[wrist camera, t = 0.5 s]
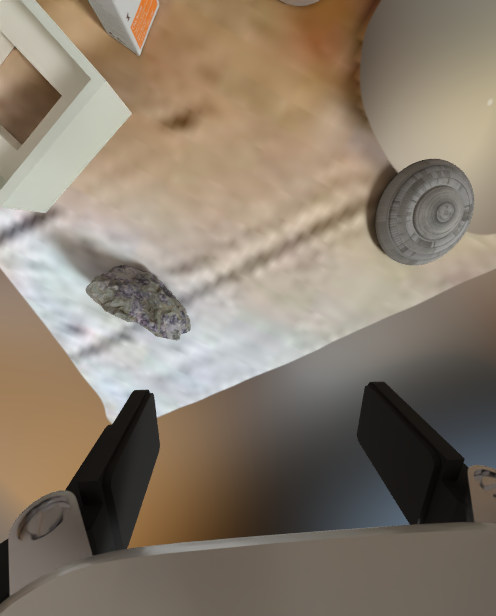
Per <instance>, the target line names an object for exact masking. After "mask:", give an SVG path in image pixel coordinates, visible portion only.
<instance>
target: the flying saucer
mask: <svg viewBox="0 0 496 616" xmlns="http://www.w3.org/2000/svg"><path fill="white" fill-rule="evenodd" d="M473 209H474V194H473V190H472V186H471V184H470V182H469V180H468V178H467V177H466V175H465V174H464V172H463V171H462V170H460V169H459V168H458V167H457V166H456V165H454V164H452V163H450V162H448V161H444V160H440V159H427V160H422V161H419V162H416V163H413V164H411V165H409V166H408V167H406V168H405V169H403V170H402V171H401V172H399V173H398V174H397V175H396V176H395V177H394V178H393V179H392V180H391V182H390V183H389V184H388V186H387V187H386V189H385V190H384V192H383V194H382V196H381V198H380V201H379V204H378V207H377V211H376V218H375V228H376V234H377V238H378V241H379V243H380V245H381V247H382V249H383V250H384V252H385V253H386V254H387V255H388V256H389V257H391V258H392V259H393V260H395V261H397V262H399V263H402V264H406V265H422V264H426V263H429V262H432V261H434V260H436V259H438V258H440V257H441V256H443V255H444V254H446V253H447V252H448V251H450V250H451V249H452V248H453V247H454V246H455V245H456V244H457V243H458V242H459V240H460V239H461V238H462V236H463V235H464V233H465V232H466V230H467V228H468V226H469V224H470V221H471V218H472V214H473Z"/></svg>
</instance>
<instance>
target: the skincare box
mask: <svg viewBox="0 0 496 616" xmlns="http://www.w3.org/2000/svg"><path fill="white" fill-rule="evenodd" d="M88 1H89V3H90V5H91V7H92V8H93V10H94V12H95V13H96V15H97V17H98V18H99V20H100V22H101V24H102V25H103V27H104V29H105V30H106V32H107V33H108V34H109V35H110V36H112V37H113V38H115V39H116V40H117V41H119V42H120V43H122V44H123V45H124V46H126V47H127V48H129V49H130V50H131V51H133V52H134V53H136V54H137V55H138V56H140V54H141V51H142V48H143V45H144V43H145V40H146V38H147V35H148V32H149V30H150V27H151V25H152V22H153V20H154V18H155V15H156V13H157V10H158V8H159V1H158V0H88Z"/></svg>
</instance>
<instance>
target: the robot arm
mask: <svg viewBox="0 0 496 616" xmlns="http://www.w3.org/2000/svg"><path fill="white" fill-rule="evenodd" d="M280 1H282V2H284V3H286V4H290V5H294V6H306V5H309V4H313V3H316V2H318V1H319V0H280ZM357 437H358V441H359V443H360V445H361V446H362V448H363V450H364V451H365V453H366V454H367V456H368V458H369V459H370V461H371V462H372V464H373V466H374V467H375V469H376V471H377V472H378V474H379V475H380V477H381V479H382V480H383V482H384V483H385V485H386V487H387V488H388V490H389V491H390V493H391V495H392V496H393V498H394V499H395V501H396V503H397V504H398V506H399V508H400V509H401V511H402V512H403V514H404V516H405V517H406V519H407V520H408V522H409V523H410V525H402V526H387V527H373V528H360V529H346V530H332V531H320V532H306V533H293V534H281V535H268V536H256V537H245V538H233V539H221V540H209V541H197V542H185V543H176V544H167V545H157V546H147V547H138V548H130V549H127V547H128V545H129V542H130V539H131V536H132V533H133V530H134V527H135V523H136V521H137V518H138V514H139V511H140V508H141V505H142V502H143V499H144V496H145V493H146V490H147V487H148V484H149V481H150V478H151V475H152V471H153V468H154V465H155V462H156V459H157V456H158V453H159V448H160V442H159V433H158V425H157V416H156V408H155V400H154V394H153V393H150V392H149V390H134V391H133V392H132V394H131V395H130V397H129V399H128V400H127V402H126V403H125V405H124V407H123V408H122V410H121V411H120V413H119V415H118V416H117V418H116V420H115V421H114V423H113V424H112V425H108V426H107V427H106V428H105V429H104V431H103V433H102V434H101V435H100V437H99V439H98V440H97V442H96V443H95V445H94V447H93V448H92V450H91V451H90V453H89V454H88V456H87V457H86V459H85V461H84V462H83V463H82V465H81V466H80V468H79V470H78V471H77V473H76V474H75V476H74V477H73V479H72V480H71V482H70V484H69V485H68V487H67V488H66V490H65V491H61V490H60V491H56V492H52V493H50V494H47V495H45V496H43V497H41V498H40V499H38V500H37V501H35V502H33V503H32V504H31V505H30V506H29V507H28V508H26V509H25V510H24V511H23V512H22V513H21V514H20V515H19V517H18V518H17V519H16V520H15V522H14V524H13V526H12V527H11V529H10V533H9V538H8V539H7V540H5V541H4V542H2V543H1V544H0V616H496V470H495V469H493V468H490V467H486V466H481V465H474V466H471V467H469V468H468V467H467V466H466V465H465V464H464V463H463V462H464V458H463V457H462V456H461V455H460V454H459V453H458V452H457V451H456V450H455V449H454V448H453V447H452V446H451V445H450V444H449V443H447V441H446V440H444V439H443V438H442V437H441V436H440V435H439V434H438V433H437V432H436V431H435V430H434V429H433V428H432V427H431V426H430V425H429V424H428V423H427V422H426V421H425V420H423V419H422V418H421V417H420V416H419V415H418V414H417V413H416V412H415V411H414V410H413V409H412V408H411V407H410V406H409V405H408V404H407V403H406V402H405V401H403V399H402V398H400V397H399V396H398V395H397V394H396V393H395V392H394V391H393V390H392V389H391V388H390V387H389V386H388V385H387V384H386V383H385V382H370V383H369V384H368V385H367V386H365V389H364V395H363V402H362V407H361V413H360V419H359V425H358V431H357Z"/></svg>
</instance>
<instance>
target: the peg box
mask: <svg viewBox="0 0 496 616" xmlns="http://www.w3.org/2000/svg"><path fill="white" fill-rule="evenodd" d="M14 47H16V48H17V49H18V50H19V51H20V52H21V53H22V54H23V55H24V56H25V57H26V58H27V59H28V60H29V61H30V63H31V64H32V65H33V66H34V67H35V68H36V69H37V70H38V71H39V72H40V73H41V74H42V75H43V76H44V77H45V78H46V79H47V81H48V82H49V83H50V84H51V85H52V86H53V87H54V88H55V89H56V90H57V91H58V92H59V93H60V94H61V95H62V96H61V98H60V99H59V100H58V101H57V103H56V104H55V105H54V106H53V108H52V109H51V110H50V111H49V112H48V114H47V115H46V116H45V117H44V119H43V120H42V121H41V122H40V124H39V125H38V126H37V127H36V129H35V130H34V131H33V132H32V134H31V135H30V136H29V137H28V139H27V140H26V141H25V142H24V143H23V145H21V144H20V143H19V142H18V141H17V140H16V139H15V138H14V137H13V136H12V135H11V134H10V133H9V132H8V131H7V130H6V129H5V128H4V127H3V126H2V125H1V124H0V207H3V208H11V209H19V210H27V211H35V212H42V213H46V212H47V211H48V210H49V209H50V207H51V206H52V205H53V204H54V203H55V202H56V201H57V199H58V198H59V197H60V196H61V195H62V194H63V192H64V191H65V190H66V189H67V188H68V187H69V186H70V184H71V183H72V182H73V181H74V180H75V179H76V178H77V176H78V175H79V174H80V173H81V172H82V171H83V169H84V168H85V167H86V166H87V165H88V164H89V163H90V161H91V160H92V159H93V158H94V157H95V156H96V154H97V153H98V152H99V151H100V150H101V149H102V148H103V146H104V145H105V144H106V143H107V142H108V141H109V140H110V138H111V137H112V136H113V135H114V134H115V133H116V131H117V130H118V129H119V128H120V127H121V126H122V125H123V123H124V122H125V121H126V120H127V119H128V118H129V117H130V115H131V114H132V113H131V112H130V110H129V109H128V108H127V107H126V105H125V104H124V103H123V101H122V100H121V99H120V98H119V96H118V95H117V94H116V93H115V91H114V90H113V89H112V88H111V86H110V85H109V84H108V83H107V81H106V80H105V79H104V78H103V77H102V76H101V74H100V73H99V72H98V71H97V70H96V69H95V68H94V67H93V65H92V64H91V63H90V62H89V61H88V60H87V59H86V57H85V56H84V55H83V54H82V53H81V52H80V51H79V49H78V48H77V47H76V46H75V45H74V44H73V43H72V41H71V40H70V39H69V38H68V37H67V36H66V35H65V34H64V32H63V31H62V30H61V29H60V28H59V27H58V26H57V24H56V23H55V22H54V21H53V20H52V19H51V18H50V16H49V15H48V14H47V13H46V12H45V11H44V10H43V8H42V7H41V6H40V5H39V4H38V3H37V2H36V1H35V0H0V65H1V64H2V63H3V61H4V60H5V59H6V57H7V56H8V55H9V53H10V52H11V51H12V49H13V48H14Z"/></svg>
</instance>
